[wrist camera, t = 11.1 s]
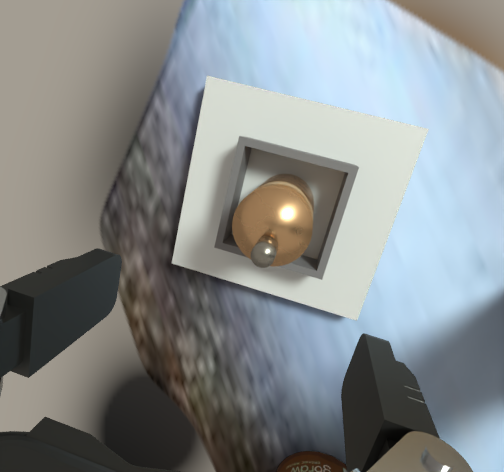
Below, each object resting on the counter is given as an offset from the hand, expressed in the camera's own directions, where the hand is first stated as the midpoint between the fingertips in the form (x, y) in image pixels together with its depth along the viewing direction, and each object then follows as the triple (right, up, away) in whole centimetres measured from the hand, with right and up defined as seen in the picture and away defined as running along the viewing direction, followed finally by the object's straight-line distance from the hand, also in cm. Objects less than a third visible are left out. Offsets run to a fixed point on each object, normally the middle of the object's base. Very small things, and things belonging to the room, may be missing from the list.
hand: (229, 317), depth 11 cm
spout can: (+4, +5, +19) cm, 20 cm away
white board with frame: (+4, +6, +21) cm, 22 cm away
